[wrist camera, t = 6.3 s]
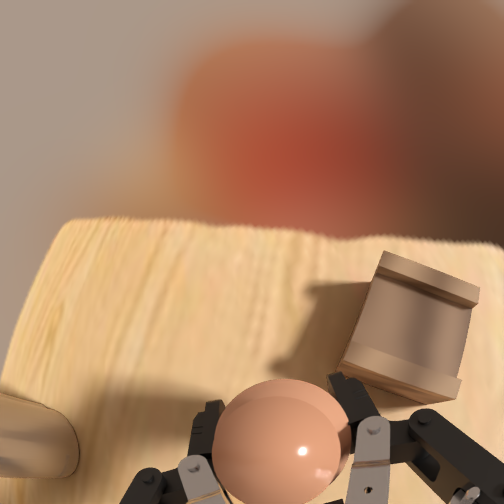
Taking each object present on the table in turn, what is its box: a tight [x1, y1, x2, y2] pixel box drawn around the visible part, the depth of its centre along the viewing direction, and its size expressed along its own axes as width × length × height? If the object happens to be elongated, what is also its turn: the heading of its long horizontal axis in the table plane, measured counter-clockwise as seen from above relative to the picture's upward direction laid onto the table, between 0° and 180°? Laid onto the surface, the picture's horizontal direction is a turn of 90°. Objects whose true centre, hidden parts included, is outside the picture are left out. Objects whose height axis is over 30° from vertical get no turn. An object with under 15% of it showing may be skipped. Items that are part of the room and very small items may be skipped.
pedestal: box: [335, 251, 480, 405], centre depth 22 cm, size 10×10×6 cm
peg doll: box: [212, 379, 351, 504], centre depth 11 cm, size 5×5×12 cm
